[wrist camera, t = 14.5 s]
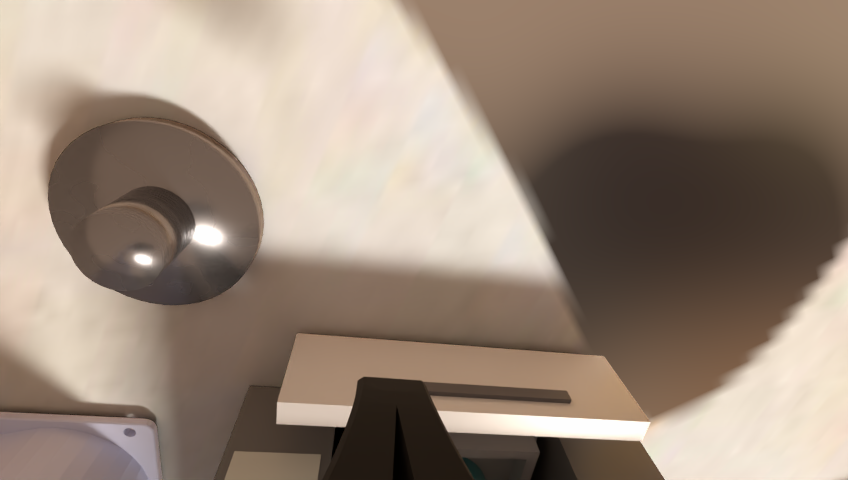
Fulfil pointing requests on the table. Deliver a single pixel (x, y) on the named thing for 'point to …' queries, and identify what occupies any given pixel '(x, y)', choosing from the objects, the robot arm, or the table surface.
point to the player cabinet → (313, 447)
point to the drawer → (468, 394)
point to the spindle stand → (156, 211)
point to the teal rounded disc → (474, 469)
